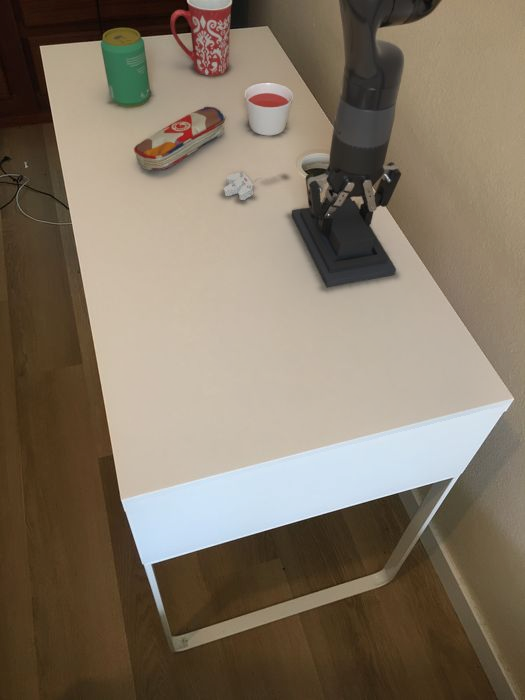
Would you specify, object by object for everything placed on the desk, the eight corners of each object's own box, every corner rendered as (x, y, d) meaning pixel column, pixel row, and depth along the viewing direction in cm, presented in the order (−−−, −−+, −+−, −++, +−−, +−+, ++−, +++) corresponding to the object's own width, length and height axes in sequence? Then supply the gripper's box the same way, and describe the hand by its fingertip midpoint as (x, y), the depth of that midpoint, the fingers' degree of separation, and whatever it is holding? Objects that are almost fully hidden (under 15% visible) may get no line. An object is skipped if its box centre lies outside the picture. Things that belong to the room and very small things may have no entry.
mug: (228, 56, 128) (227, -11, 117) (236, 76, 123) (236, 8, 112) (171, 60, 126) (165, -8, 115) (177, 81, 121) (171, 11, 110)
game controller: (215, 190, 98) (215, 177, 96) (262, 163, 103) (263, 150, 101) (239, 205, 96) (239, 192, 94) (285, 177, 101) (286, 164, 99)
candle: (291, 116, 114) (294, 84, 109) (289, 141, 108) (291, 109, 103) (246, 112, 114) (247, 81, 109) (241, 137, 108) (242, 105, 103)
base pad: (394, 274, 87) (397, 264, 85) (326, 287, 85) (328, 277, 83) (353, 205, 97) (355, 195, 95) (291, 215, 95) (292, 204, 93)
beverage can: (131, 84, 119) (122, 22, 110) (159, 97, 116) (152, 35, 107) (102, 98, 115) (90, 36, 106) (129, 112, 112) (120, 49, 103)
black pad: (372, 250, 86) (375, 238, 84) (337, 256, 85) (340, 244, 83) (347, 210, 92) (350, 197, 90) (315, 215, 91) (317, 202, 89)
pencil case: (121, 153, 104) (116, 127, 100) (210, 119, 112) (209, 95, 108) (154, 183, 99) (150, 157, 95) (244, 146, 107) (244, 121, 103)
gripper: (320, 152, 71) (307, 254, 85) (424, 138, 74) (396, 238, 88) (301, 120, 76) (292, 222, 89) (400, 108, 79) (377, 208, 92)
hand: (343, 230), depth 88 cm, fingers closed on black pad, 5 cm apart
